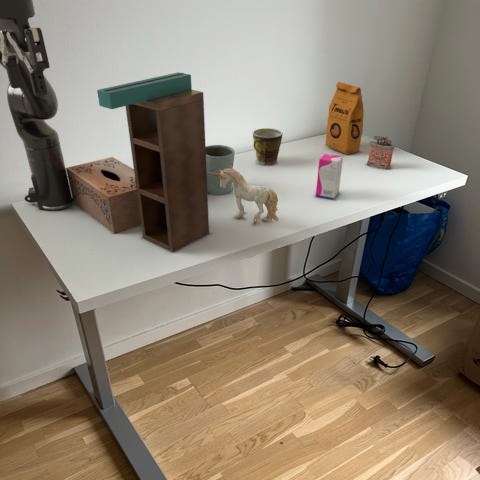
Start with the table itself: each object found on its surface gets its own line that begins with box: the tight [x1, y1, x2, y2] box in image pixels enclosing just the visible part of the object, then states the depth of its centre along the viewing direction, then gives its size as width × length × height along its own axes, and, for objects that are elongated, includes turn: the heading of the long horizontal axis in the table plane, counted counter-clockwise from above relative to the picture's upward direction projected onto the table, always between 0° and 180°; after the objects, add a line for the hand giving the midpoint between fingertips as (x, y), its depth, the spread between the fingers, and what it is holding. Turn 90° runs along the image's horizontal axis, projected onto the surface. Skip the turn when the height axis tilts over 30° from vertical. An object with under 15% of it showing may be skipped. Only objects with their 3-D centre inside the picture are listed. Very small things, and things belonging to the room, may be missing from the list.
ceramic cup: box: [252, 127, 283, 167], centre depth 167 cm, size 13×10×10 cm
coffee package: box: [324, 81, 364, 156], centre depth 175 cm, size 10×12×22 cm
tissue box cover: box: [65, 156, 141, 234], centre depth 137 cm, size 26×14×10 cm, turn 39°
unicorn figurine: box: [207, 168, 280, 225], centre depth 132 cm, size 7×20×13 cm, turn 74°
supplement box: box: [315, 152, 344, 200], centre depth 145 cm, size 6×6×12 cm
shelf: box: [125, 89, 210, 253], centre depth 117 cm, size 13×11×34 cm
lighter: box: [366, 134, 395, 170], centre depth 165 cm, size 8×3×10 cm, turn 58°
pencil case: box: [96, 71, 193, 110], centre depth 103 cm, size 22×4×3 cm, turn 139°
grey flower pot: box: [206, 144, 236, 196], centre depth 148 cm, size 10×10×12 cm
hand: (29, 91), depth 89 cm, fingers open, 8 cm apart
